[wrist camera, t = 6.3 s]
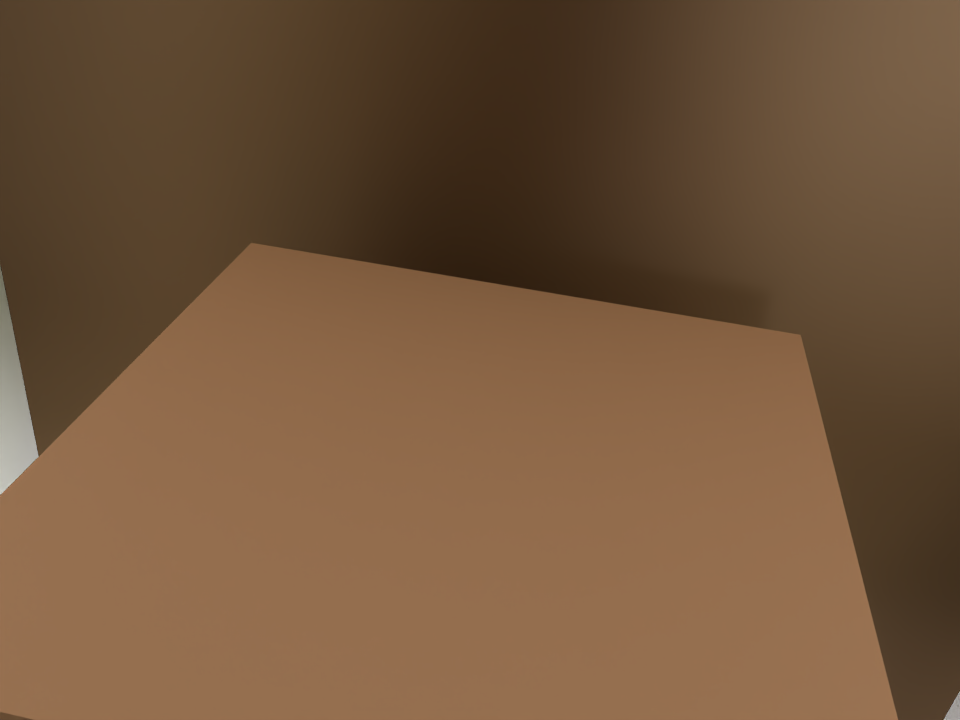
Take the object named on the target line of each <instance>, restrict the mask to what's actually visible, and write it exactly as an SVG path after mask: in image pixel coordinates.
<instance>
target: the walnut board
mask: <svg viewBox="0 0 960 720" xmlns="http://www.w3.org/2000/svg"><path fill="white" fill-rule="evenodd" d="M251 243H256V244H262V245H267V246H273V247H279V248H285V249H291V250H297V251H303V252H309V253H315V254H321V255H327V256H333V257H339V258H345V259H351V260H357V261H363V262H369V263H375V264H381V265H387V266H393V267H399V268H405V269H411V270H417V271H423V272H429V273H435V274H441V275H446V276H452V277H458V278H464V279H470V280H476V281H482V282H488V283H494V284H500V285H506V286H512V287H518V288H524V289H530V290H536V291H542V292H548V293H554V294H560V295H566V296H572V297H578V298H584V299H590V300H596V301H602V302H608V303H614V304H620V305H625V306H631V307H637V308H643V309H649V310H655V311H661V312H667V313H673V314H679V315H685V316H691V317H697V318H703V319H709V320H715V321H721V322H727V323H733V324H739V325H745V326H751V327H757V328H763V329H769V330H775V331H781V332H787V333H793V334H799V335H801V338H802V342H803V346H804V350H805V354H806V358H807V362H808V365H809V369H810V373H811V377H812V381H813V385H814V389H815V393H816V397H817V401H818V405H819V409H820V413H821V417H822V421H823V425H824V429H825V433H826V437H827V441H828V445H829V449H830V452H831V456H832V460H833V464H834V468H835V472H836V476H837V480H838V484H839V488H840V492H841V496H842V500H843V504H844V508H845V512H846V516H847V520H848V524H849V528H850V532H851V536H852V539H853V543H854V547H855V551H856V555H857V559H858V563H859V567H860V571H861V575H862V579H863V583H864V587H865V591H866V595H867V599H868V603H869V607H870V611H871V615H872V619H873V623H874V626H875V630H876V634H877V638H878V642H879V646H880V650H881V654H882V658H883V662H884V666H885V670H886V674H887V678H888V682H889V686H890V690H891V694H892V698H893V702H894V706H895V710H896V713H897V717H898V720H943V719H944V718H945V716H946V714H947V712H948V711H949V709H950V707H951V705H952V703H953V702H954V700H955V698H956V696H957V695H958V693H959V691H960V0H0V265H1V270H2V275H3V280H4V285H5V290H6V295H7V300H8V305H9V310H10V315H11V320H12V325H13V330H14V335H15V340H16V345H17V350H18V355H19V360H20V365H21V370H22V375H23V380H24V385H25V390H26V395H27V400H28V405H29V410H30V415H31V420H32V425H33V430H34V435H35V440H36V445H37V450H38V455H39V456H40V455H41V454H42V453H43V452H44V451H45V450H46V449H47V448H48V447H49V446H50V445H51V444H52V443H53V442H54V441H55V440H56V439H57V438H58V437H59V436H60V435H61V434H62V433H63V432H64V431H65V430H66V429H67V428H68V427H69V426H70V425H71V424H72V423H73V422H74V421H75V420H76V419H77V418H78V417H79V416H80V415H81V414H82V413H83V412H84V411H85V410H86V409H87V408H88V407H89V406H90V405H91V404H92V403H93V402H94V401H95V400H96V399H97V398H98V397H99V396H100V395H101V394H102V393H103V392H104V391H105V390H106V389H107V388H108V387H109V386H110V385H111V384H112V383H113V382H114V381H115V380H116V379H117V378H118V377H119V375H120V374H121V373H122V372H123V371H124V370H125V369H126V368H127V367H128V366H129V365H130V364H131V363H132V362H133V361H134V360H135V359H136V358H137V357H138V356H139V355H140V354H141V353H142V352H143V351H144V350H145V349H146V348H147V347H148V346H149V345H150V344H151V343H152V342H153V341H154V340H155V339H156V338H157V337H158V336H159V335H160V334H161V333H162V332H163V331H164V330H165V329H166V328H167V327H168V326H169V325H170V324H171V323H172V322H173V321H174V320H175V319H176V318H177V317H178V316H179V315H180V314H181V313H182V312H183V311H184V310H185V309H186V308H187V307H188V306H189V305H190V304H191V303H192V302H193V301H194V300H195V299H196V298H197V297H198V296H199V295H200V294H201V293H202V292H203V291H204V290H205V289H206V288H207V287H208V286H209V285H210V284H211V283H212V282H213V281H214V280H215V279H216V278H217V277H218V276H219V275H220V274H221V273H222V272H223V271H224V270H225V269H226V268H227V267H228V266H229V265H230V264H231V263H232V262H233V261H234V260H235V259H236V258H237V257H238V256H239V255H240V254H241V253H242V252H243V251H244V250H245V249H246V248H247V247H248V246H249V245H250V244H251Z"/></svg>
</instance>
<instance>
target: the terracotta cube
mask: <svg viewBox="0 0 960 720" xmlns="http://www.w3.org/2000/svg"><path fill="white" fill-rule="evenodd" d="M0 720H898V717H897V713H896V710H895V706H894V702H893V698H892V694H891V690H890V686H889V682H888V678H887V674H886V670H885V666H884V662H883V658H882V654H881V650H880V646H879V642H878V638H877V634H876V630H875V626H874V623H873V619H872V615H871V611H870V607H869V603H868V599H867V595H866V591H865V587H864V583H863V579H862V575H861V571H860V567H859V563H858V559H857V555H856V551H855V547H854V543H853V539H852V536H851V532H850V528H849V524H848V520H847V516H846V512H845V508H844V504H843V500H842V496H841V492H840V488H839V484H838V480H837V476H836V472H835V468H834V464H833V460H832V456H831V452H830V449H829V445H828V441H827V437H826V433H825V429H824V425H823V421H822V417H821V413H820V409H819V405H818V401H817V397H816V393H815V389H814V385H813V381H812V377H811V373H810V369H809V365H808V362H807V358H806V354H805V350H804V346H803V342H802V338H801V335H799V334H793V333H787V332H781V331H775V330H769V329H763V328H757V327H751V326H745V325H739V324H733V323H727V322H721V321H715V320H709V319H703V318H697V317H691V316H685V315H679V314H673V313H667V312H661V311H655V310H649V309H643V308H637V307H631V306H625V305H620V304H614V303H608V302H602V301H596V300H590V299H584V298H578V297H572V296H566V295H560V294H554V293H548V292H542V291H536V290H530V289H524V288H518V287H512V286H506V285H500V284H494V283H488V282H482V281H476V280H470V279H464V278H458V277H452V276H446V275H441V274H435V273H429V272H423V271H417V270H411V269H405V268H399V267H393V266H387V265H381V264H375V263H369V262H363V261H357V260H351V259H345V258H339V257H333V256H327V255H321V254H315V253H309V252H303V251H297V250H291V249H285V248H279V247H273V246H267V245H262V244H256V243H251V244H250V245H249V246H248V247H247V248H246V249H245V250H244V251H243V252H242V253H241V254H240V255H239V256H238V257H237V258H236V259H235V260H234V261H233V262H232V263H231V264H230V265H229V266H228V267H227V268H226V269H225V270H224V271H223V272H222V273H221V274H220V275H219V276H218V277H217V278H216V279H215V280H214V281H213V282H212V283H211V284H210V285H209V286H208V287H207V288H206V289H205V290H204V291H203V292H202V293H201V294H200V295H199V296H198V297H197V298H196V299H195V300H194V301H193V302H192V303H191V304H190V305H189V306H188V307H187V308H186V309H185V310H184V311H183V312H182V313H181V314H180V315H179V316H178V317H177V318H176V319H175V320H174V321H173V322H172V323H171V324H170V325H169V326H168V327H167V328H166V329H165V330H164V331H163V332H162V333H161V334H160V335H159V336H158V337H157V338H156V339H155V340H154V341H153V342H152V343H151V344H150V345H149V346H148V347H147V348H146V349H145V350H144V351H143V352H142V353H141V354H140V355H139V356H138V357H137V358H136V359H135V360H134V361H133V362H132V363H131V364H130V365H129V366H128V367H127V368H126V369H125V370H124V371H123V372H122V373H121V374H120V375H119V377H118V378H117V379H116V380H115V381H114V382H113V383H112V384H111V385H110V386H109V387H108V388H107V389H106V390H105V391H104V392H103V393H102V394H101V395H100V396H99V397H98V398H97V399H96V400H95V401H94V402H93V403H92V404H91V405H90V406H89V407H88V408H87V409H86V410H85V411H84V412H83V413H82V414H81V415H80V416H79V417H78V418H77V419H76V420H75V421H74V422H73V423H72V424H71V425H70V426H69V427H68V428H67V429H66V430H65V431H64V432H63V433H62V434H61V435H60V436H59V437H58V438H57V439H56V440H55V441H54V442H53V443H52V444H51V445H50V446H49V447H48V448H47V449H46V450H45V451H44V452H43V453H42V454H41V455H40V456H39V457H38V458H37V459H36V460H35V461H34V462H33V463H32V464H31V465H30V466H29V467H28V468H27V469H26V470H25V471H24V472H23V473H22V474H21V475H20V476H19V477H18V478H17V479H16V480H15V481H14V482H13V483H12V484H11V485H10V486H9V487H8V488H7V489H6V490H5V491H4V492H3V493H2V494H1V495H0Z"/></svg>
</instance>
